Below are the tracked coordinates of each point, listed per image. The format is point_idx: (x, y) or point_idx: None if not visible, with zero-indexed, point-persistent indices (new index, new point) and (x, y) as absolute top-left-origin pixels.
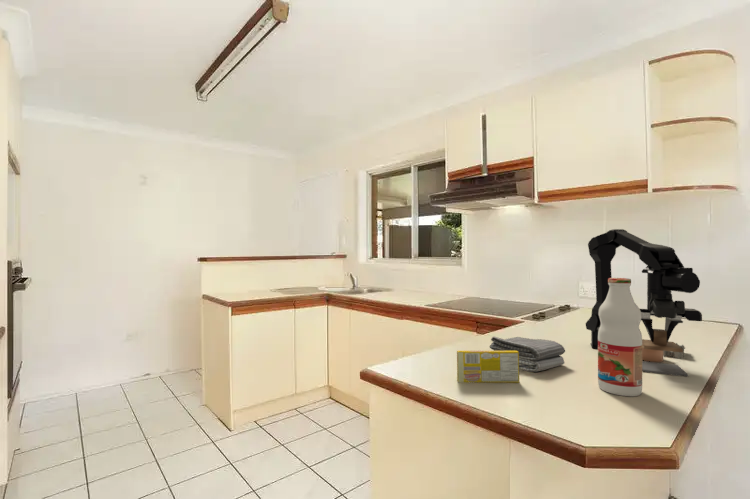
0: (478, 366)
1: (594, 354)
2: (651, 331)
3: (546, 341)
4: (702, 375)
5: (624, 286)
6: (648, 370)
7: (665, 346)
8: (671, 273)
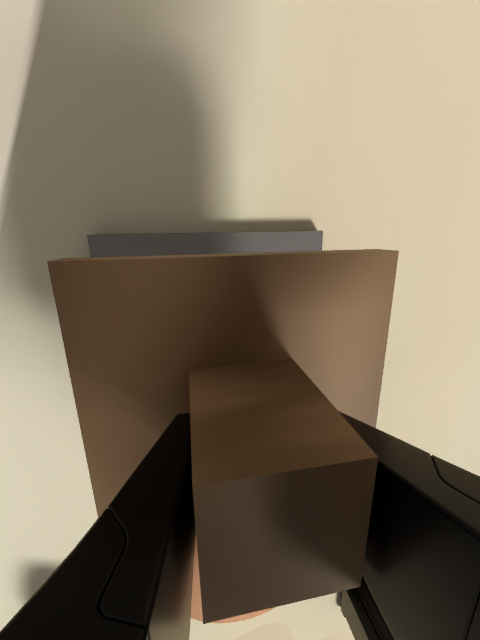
0: None
1: (437, 450)
2: (392, 454)
3: None
4: (9, 305)
5: None
6: (286, 231)
7: (210, 306)
8: None
